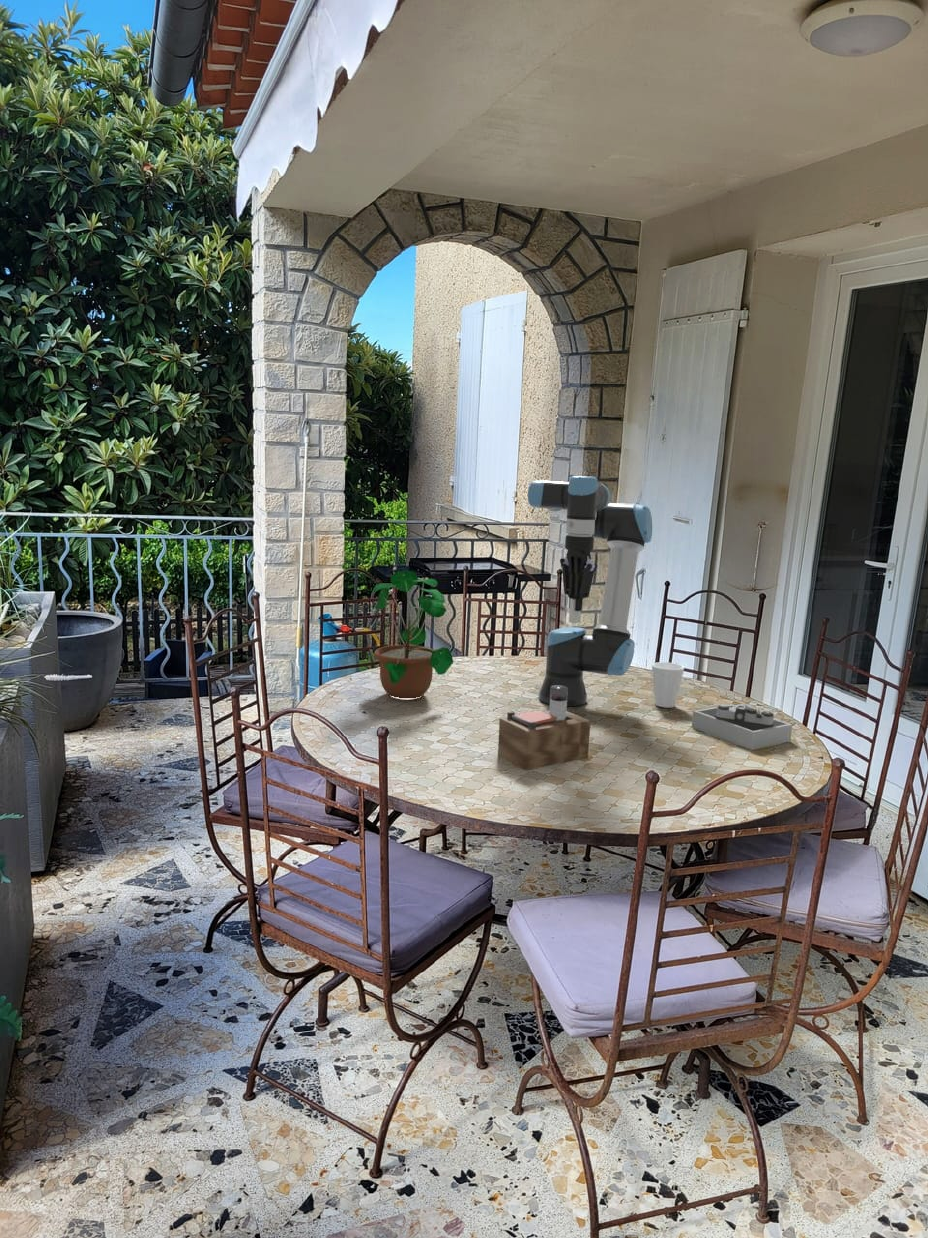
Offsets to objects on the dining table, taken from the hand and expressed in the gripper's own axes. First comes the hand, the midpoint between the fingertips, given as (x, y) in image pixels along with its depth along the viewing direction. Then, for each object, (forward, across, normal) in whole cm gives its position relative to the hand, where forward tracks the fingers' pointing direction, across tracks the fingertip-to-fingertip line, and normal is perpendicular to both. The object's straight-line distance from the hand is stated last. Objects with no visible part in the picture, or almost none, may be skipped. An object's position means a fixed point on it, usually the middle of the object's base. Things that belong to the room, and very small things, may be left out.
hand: (574, 622), depth 237 cm
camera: (+33, +22, +47) cm, 61 cm away
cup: (+33, -11, +48) cm, 59 cm away
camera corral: (+32, +20, +47) cm, 60 cm away
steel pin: (+30, +10, -12) cm, 34 cm away
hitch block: (+32, +10, -16) cm, 37 cm away
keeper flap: (+22, +10, -20) cm, 31 cm away
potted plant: (+33, -54, -18) cm, 66 cm away
